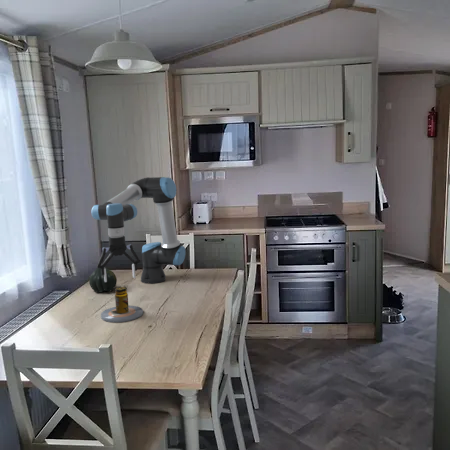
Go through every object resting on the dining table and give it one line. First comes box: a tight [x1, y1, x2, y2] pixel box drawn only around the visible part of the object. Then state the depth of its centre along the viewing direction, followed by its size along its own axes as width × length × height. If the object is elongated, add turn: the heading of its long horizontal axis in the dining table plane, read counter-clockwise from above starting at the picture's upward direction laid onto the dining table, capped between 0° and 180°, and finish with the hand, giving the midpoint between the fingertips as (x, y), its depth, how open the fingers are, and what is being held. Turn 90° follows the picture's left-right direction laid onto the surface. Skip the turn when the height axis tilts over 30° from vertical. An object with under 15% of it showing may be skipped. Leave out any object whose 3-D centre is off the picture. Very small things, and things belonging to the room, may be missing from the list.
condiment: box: [110, 286, 131, 316], centre depth 220 cm, size 7×8×12 cm
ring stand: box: [100, 304, 144, 323], centre depth 221 cm, size 20×20×1 cm
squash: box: [88, 266, 118, 293], centre depth 260 cm, size 14×15×15 cm
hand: (120, 279), depth 218 cm, fingers open, 13 cm apart
